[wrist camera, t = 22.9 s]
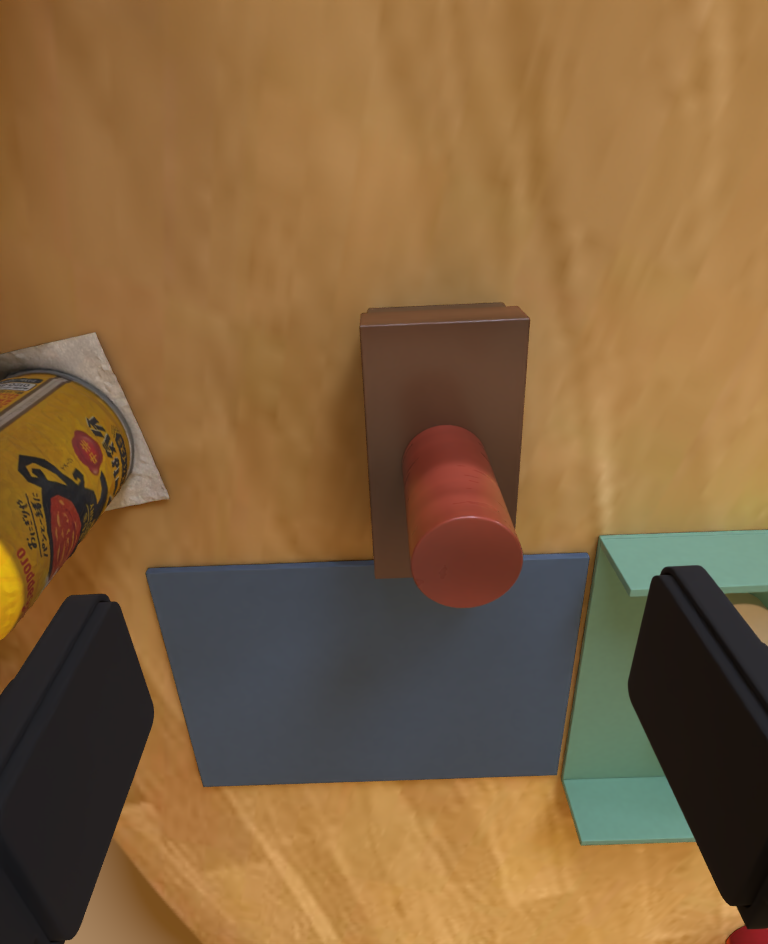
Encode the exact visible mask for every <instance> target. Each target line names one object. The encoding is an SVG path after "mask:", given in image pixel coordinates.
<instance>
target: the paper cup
mask: <svg viewBox="0 0 768 944" xmlns="http://www.w3.org/2000/svg"><path fill="white" fill-rule="evenodd" d="M726 944H768V928H767V929H747V927H746V926H743V927H741V928H739V929H738V930H736V931H735V932H734V933H732V934H731V935H730V936H729V938H728V939H727V941H726Z"/></svg>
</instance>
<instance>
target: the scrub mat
mask: <svg viewBox="0 0 768 944" xmlns="http://www.w3.org/2000/svg"><path fill="white" fill-rule="evenodd" d="M589 559H590V557H589V555H588V553H564V554H536V555H523V564H522V569H521V572H520V575H519V577H518V579H517V580H516V582H515V583H514V585H513V586H512V587H511V588H510V589H509V590H508V591H507V592H506V593H505V594H504V595H502V596H501V597H500V598H498V599H496V600H494V601H492V602H490V603H488V604H485V605H482V606H477V607H472V608H454V607H449V606H445V605H442V604H439V603H437V602H435V601H433V600H431V599H430V598H428V597H427V596H426V595H425V594H423V593H422V592H421V590H420V589H419V588H418V587H417V585H416V584H415V582H414V580H413V578H389V579H375V572H374V560H366V561H338V562H310V563H281V564H253V565H225V566H196V567H168V568H148V570H147V571H146V577H147V581H148V584H149V588H150V592H151V595H152V599H153V603H154V606H155V610H156V614H157V617H158V621H159V625H160V628H161V632H162V636H163V640H164V643H165V647H166V651H167V654H168V658H169V662H170V665H171V669H172V673H173V676H174V680H175V684H176V687H177V691H178V695H179V699H180V702H181V706H182V710H183V713H184V717H185V721H186V724H187V728H188V732H189V735H190V739H191V743H192V746H193V750H194V754H195V758H196V761H197V765H198V769H199V772H200V776H201V780H202V783H203V787H213V786H243V785H273V784H303V783H333V782H363V781H393V780H424V779H454V778H484V777H514V776H544V775H557V770H558V764H559V757H560V751H561V744H562V737H563V731H564V724H565V717H566V711H567V704H568V698H569V691H570V684H571V678H572V671H573V665H574V658H575V651H576V645H577V638H578V632H579V625H580V618H581V612H582V605H583V598H584V592H585V585H586V579H587V572H588V565H589Z"/></svg>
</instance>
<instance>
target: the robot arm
mask: <svg viewBox="0 0 768 944" xmlns="http://www.w3.org/2000/svg"><path fill="white" fill-rule="evenodd" d="M628 694H629V698H630V701H631V703H632V706H633V708H634V710H635V712H636V714H637V716H638V718H639V721H640V723H641V725H642V727H643V729H644V731H645V733H646V736H647V738H648V740H649V742H650V744H651V746H652V748H653V751H654V753H655V755H656V757H657V759H658V761H659V763H660V766H661V768H662V770H663V772H664V774H665V776H666V778H667V781H668V783H669V785H670V787H671V789H672V791H673V793H674V796H675V798H676V800H677V802H678V804H679V806H680V808H681V811H682V813H683V815H684V817H685V819H686V821H687V823H688V826H689V828H690V830H691V832H692V834H693V836H694V838H695V841H696V843H697V845H698V847H699V849H700V851H701V853H702V856H703V858H704V860H705V862H706V864H707V866H708V869H709V871H710V873H711V875H712V877H713V879H714V881H715V884H716V886H717V888H718V890H719V892H720V894H721V896H722V897H723V899H724V900H725V901H726V903H728V904H729V905H730V906H737V908H738V910H739V913H740V915H741V917H742V919H743V921H744V923H745V925H746V927H747V929H767V928H768V646H767V645H766V644H765V643H763V642H761V640H760V639H759V638H758V636H757V635H756V634H755V633H754V631H753V630H752V629H751V627H750V626H749V625H748V624H747V622H746V621H745V620H744V618H743V617H742V616H741V615H740V613H739V612H738V611H737V609H736V608H735V607H734V606H733V604H732V603H731V602H730V600H729V599H728V598H727V597H726V595H725V594H724V593H723V591H722V590H721V589H720V588H719V586H718V585H717V584H716V582H715V581H714V580H713V579H712V577H711V576H710V575H709V573H708V572H707V571H706V570H705V569H704V568H703V567H702V566H699V565H687V566H667V567H664V568H663V569H662V571H661V574H660V575H656V576H654V577H653V578H652V580H651V583H650V588H649V592H648V596H647V601H646V605H645V609H644V613H643V618H642V622H641V626H640V631H639V635H638V639H637V644H636V648H635V652H634V657H633V661H632V665H631V669H630V674H629V678H628ZM153 718H154V707H153V702H152V700H151V697H150V694H149V691H148V688H147V685H146V682H145V679H144V676H143V673H142V670H141V667H140V664H139V661H138V658H137V655H136V652H135V649H134V646H133V643H132V640H131V637H130V634H129V631H128V628H127V625H126V622H125V620H124V617H123V614H122V611H121V608H120V606H119V604H118V603H117V602H111V601H110V599H109V597H108V596H107V595H106V594H88V595H71V596H69V597H67V598H66V599H65V601H64V602H63V603H62V605H61V607H60V608H59V610H58V611H57V613H56V614H55V616H54V617H53V619H52V621H51V622H50V624H49V625H48V627H47V628H46V630H45V632H44V633H43V635H42V636H41V638H40V639H39V641H38V642H37V644H36V646H35V647H34V649H33V650H32V652H31V653H30V655H29V656H28V658H27V660H26V661H25V663H24V664H23V666H22V667H21V669H20V671H19V672H18V674H17V675H16V677H15V678H14V679H13V680H12V681H11V682H10V683H9V684H8V685H7V687H6V688H5V689H4V691H3V692H2V694H1V695H0V944H64V942H65V940H70V939H72V938H73V937H74V936H75V935H76V933H77V932H78V930H79V928H80V925H81V923H82V920H83V917H84V914H85V912H86V909H87V906H88V903H89V901H90V898H91V895H92V892H93V889H94V887H95V884H96V881H97V878H98V876H99V873H100V870H101V867H102V864H103V861H104V858H105V856H106V853H107V850H108V848H109V845H110V842H111V839H112V836H113V834H114V831H115V828H116V825H117V822H118V820H119V817H120V814H121V811H122V808H123V806H124V803H125V800H126V797H127V795H128V792H129V789H130V786H131V783H132V781H133V778H134V775H135V772H136V769H137V767H138V764H139V761H140V758H141V755H142V753H143V750H144V747H145V744H146V741H147V739H148V736H149V733H150V730H151V727H152V724H153Z"/></svg>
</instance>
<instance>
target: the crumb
mask: <svg viewBox="0 0 768 944" xmlns="http://www.w3.org/2000/svg"><path fill="white" fill-rule="evenodd" d="M725 595H726V597H727V598H728V599H729V600H730V602H731V603H732V604H733V606H734V607H735V608H736V609H737V611H738V612H739V613H740V615H741V616H742V617H743V618H744V620H745V621H746V622H747V624H748V625H749V626H750V627H751V629H752V630H753V631H754V633H755V634H756V635H757V636H758V638H759V639H760V640H761V642H763V643H765V644H766V645H767V646H768V609H767V608H766V607H765V606H764V605H763V603H762V602H761V601H760V600H759V599H758V598H757V597H755V596H753V595H752V594H749V593H729V594H725Z"/></svg>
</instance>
